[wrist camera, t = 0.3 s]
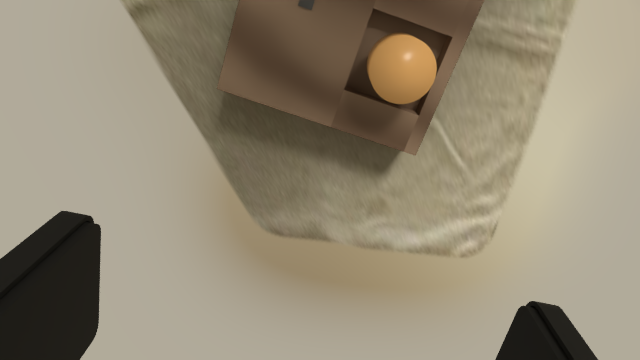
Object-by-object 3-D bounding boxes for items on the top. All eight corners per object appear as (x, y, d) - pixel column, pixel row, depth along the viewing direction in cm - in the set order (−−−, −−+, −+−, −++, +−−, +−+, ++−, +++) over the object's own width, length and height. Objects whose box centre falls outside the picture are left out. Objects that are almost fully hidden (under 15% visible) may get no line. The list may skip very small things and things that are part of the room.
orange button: (379, 23, 32) (384, 26, 29) (438, 44, 33) (447, 49, 30) (357, 83, 34) (359, 91, 31) (413, 103, 34) (420, 112, 31)
